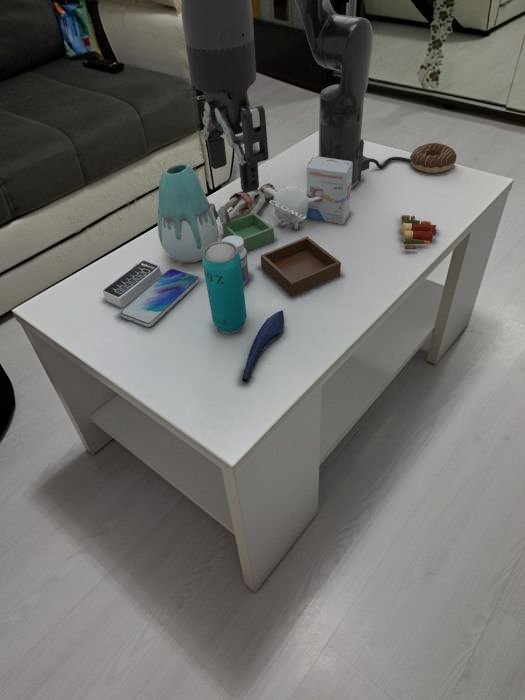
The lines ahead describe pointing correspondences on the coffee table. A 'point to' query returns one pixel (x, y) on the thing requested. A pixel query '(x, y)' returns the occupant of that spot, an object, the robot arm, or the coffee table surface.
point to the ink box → (329, 189)
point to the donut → (433, 157)
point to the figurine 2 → (290, 204)
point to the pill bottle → (242, 252)
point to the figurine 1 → (243, 203)
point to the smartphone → (159, 297)
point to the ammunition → (416, 231)
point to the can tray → (300, 266)
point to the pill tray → (250, 231)
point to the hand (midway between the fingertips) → (233, 177)
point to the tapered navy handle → (263, 340)
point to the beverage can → (225, 286)
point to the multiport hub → (132, 283)
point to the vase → (184, 215)
